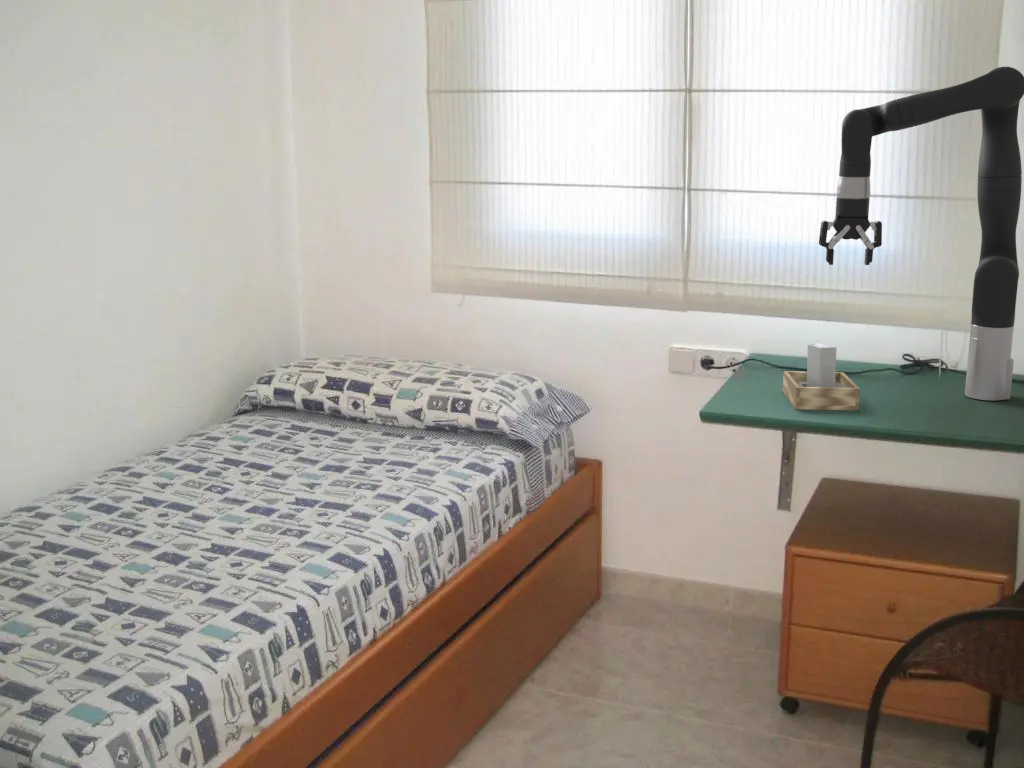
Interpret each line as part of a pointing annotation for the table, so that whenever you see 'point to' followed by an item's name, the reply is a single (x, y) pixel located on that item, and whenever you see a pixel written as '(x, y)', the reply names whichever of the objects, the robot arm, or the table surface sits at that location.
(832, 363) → the skincare box
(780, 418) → the table surface
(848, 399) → the crate
